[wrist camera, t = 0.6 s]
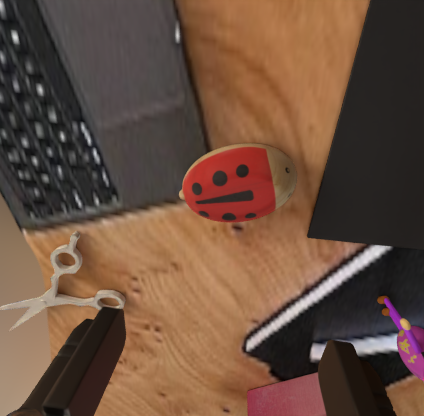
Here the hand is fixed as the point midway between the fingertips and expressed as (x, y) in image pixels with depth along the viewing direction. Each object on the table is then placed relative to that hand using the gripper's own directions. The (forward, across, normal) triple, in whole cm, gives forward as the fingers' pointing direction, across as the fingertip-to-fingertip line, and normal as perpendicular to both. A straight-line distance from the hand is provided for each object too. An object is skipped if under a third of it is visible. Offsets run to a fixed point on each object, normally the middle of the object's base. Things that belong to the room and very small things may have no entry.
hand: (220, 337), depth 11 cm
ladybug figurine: (+15, 0, -1) cm, 15 cm away
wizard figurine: (+16, -17, +11) cm, 26 cm away
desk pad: (+15, -13, -6) cm, 21 cm away
